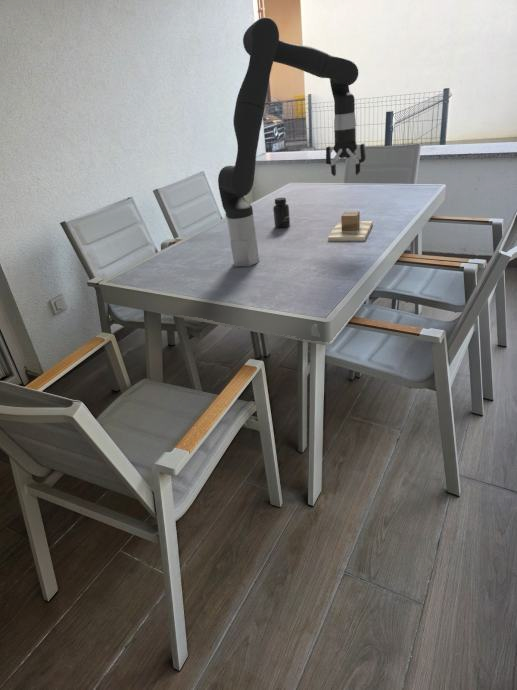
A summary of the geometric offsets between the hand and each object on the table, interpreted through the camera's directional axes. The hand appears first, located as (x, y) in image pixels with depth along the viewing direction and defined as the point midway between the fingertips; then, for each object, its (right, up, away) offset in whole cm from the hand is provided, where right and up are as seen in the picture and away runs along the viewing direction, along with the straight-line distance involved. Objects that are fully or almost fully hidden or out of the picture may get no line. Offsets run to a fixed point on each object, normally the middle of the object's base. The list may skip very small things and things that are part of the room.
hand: (345, 174), depth 167 cm
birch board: (+4, -19, +10) cm, 22 cm away
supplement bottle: (-22, -12, +29) cm, 38 cm away
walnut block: (+4, -18, +9) cm, 20 cm away
